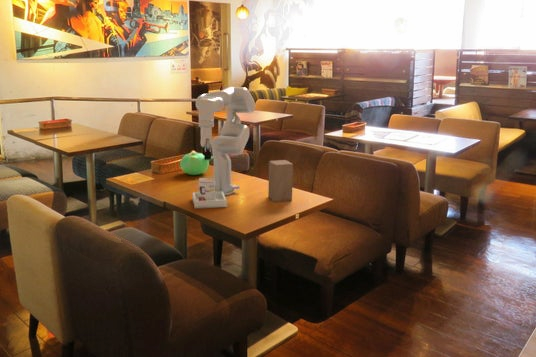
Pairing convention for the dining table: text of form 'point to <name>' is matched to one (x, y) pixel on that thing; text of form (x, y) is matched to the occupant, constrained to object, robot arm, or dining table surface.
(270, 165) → the wooden block
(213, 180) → the ink box
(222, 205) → the tray
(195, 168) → the green teapot
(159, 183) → the dining table surface
